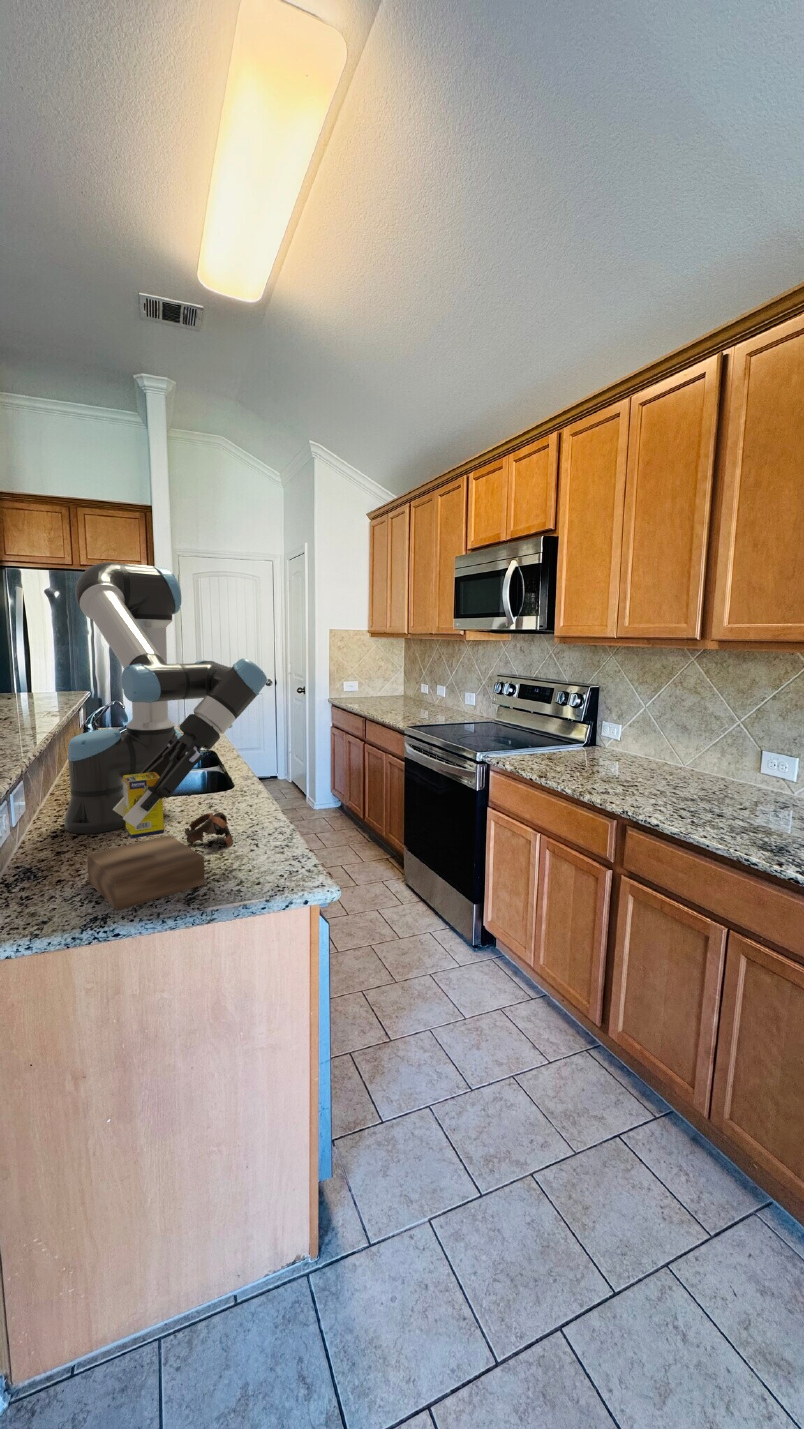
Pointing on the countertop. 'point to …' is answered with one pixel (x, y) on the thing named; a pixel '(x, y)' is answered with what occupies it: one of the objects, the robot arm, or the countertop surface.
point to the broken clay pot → (209, 828)
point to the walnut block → (145, 871)
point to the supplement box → (133, 792)
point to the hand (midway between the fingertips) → (123, 818)
